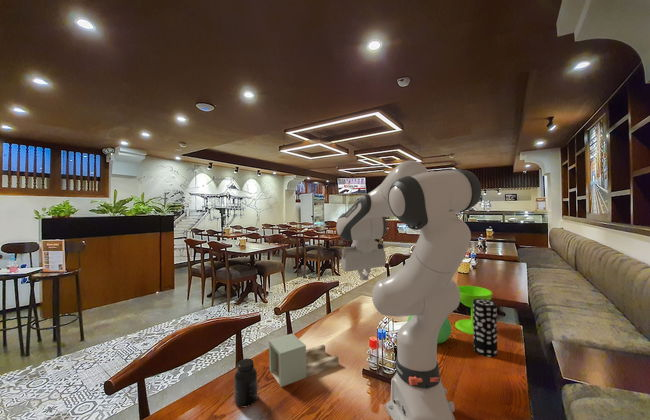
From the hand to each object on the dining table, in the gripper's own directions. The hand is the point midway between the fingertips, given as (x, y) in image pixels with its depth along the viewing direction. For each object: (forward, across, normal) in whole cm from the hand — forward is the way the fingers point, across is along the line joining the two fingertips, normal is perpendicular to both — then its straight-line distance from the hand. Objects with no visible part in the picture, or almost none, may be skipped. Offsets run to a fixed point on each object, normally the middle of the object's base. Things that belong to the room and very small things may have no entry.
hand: (364, 279), depth 111 cm
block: (+30, -30, +4) cm, 43 cm away
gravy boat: (+30, +31, -6) cm, 43 cm away
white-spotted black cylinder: (+30, +43, -23) cm, 57 cm away
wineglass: (+29, +59, -8) cm, 66 cm away
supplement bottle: (+32, -47, 0) cm, 57 cm away
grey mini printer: (+31, -25, +4) cm, 40 cm away
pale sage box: (+31, -32, +4) cm, 44 cm away
